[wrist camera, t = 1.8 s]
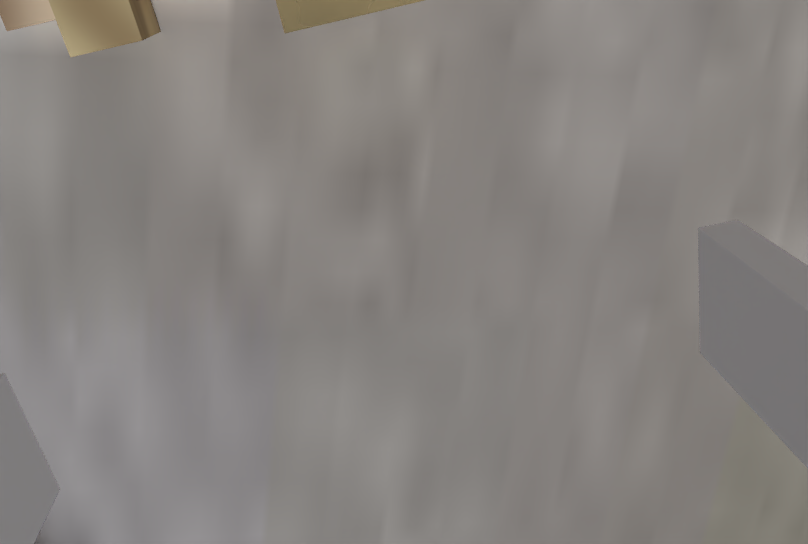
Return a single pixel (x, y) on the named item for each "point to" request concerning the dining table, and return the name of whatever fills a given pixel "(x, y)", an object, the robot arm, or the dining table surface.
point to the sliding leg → (328, 11)
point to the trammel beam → (85, 21)
